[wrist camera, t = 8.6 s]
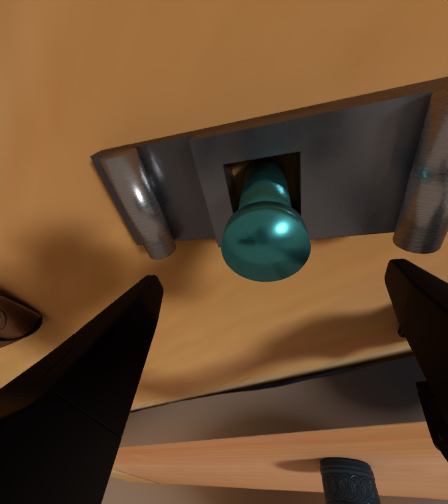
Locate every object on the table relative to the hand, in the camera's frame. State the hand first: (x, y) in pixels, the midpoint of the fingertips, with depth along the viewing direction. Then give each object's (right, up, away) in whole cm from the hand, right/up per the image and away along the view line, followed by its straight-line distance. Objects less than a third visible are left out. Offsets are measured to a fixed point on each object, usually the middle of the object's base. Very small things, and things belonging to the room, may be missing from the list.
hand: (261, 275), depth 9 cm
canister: (+31, -56, +54) cm, 84 cm away
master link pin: (+2, +7, +8) cm, 11 cm away
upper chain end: (+5, +7, +7) cm, 12 cm away
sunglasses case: (-38, -7, +27) cm, 48 cm away
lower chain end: (-2, +6, +9) cm, 11 cm away
